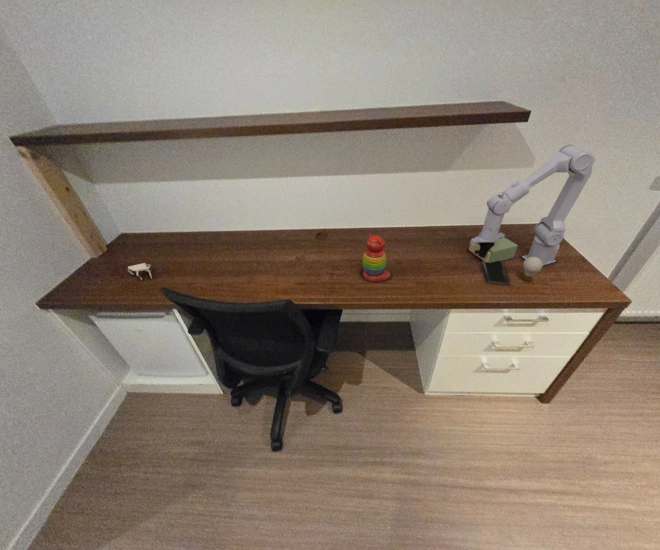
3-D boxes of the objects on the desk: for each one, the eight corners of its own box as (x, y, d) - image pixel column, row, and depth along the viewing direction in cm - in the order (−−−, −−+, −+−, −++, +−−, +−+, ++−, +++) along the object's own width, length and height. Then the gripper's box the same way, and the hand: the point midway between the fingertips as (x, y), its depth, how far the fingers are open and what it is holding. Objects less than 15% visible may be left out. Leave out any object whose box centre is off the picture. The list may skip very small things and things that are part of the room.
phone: (487, 281, 113) (481, 259, 125) (486, 283, 114) (480, 261, 126) (510, 283, 112) (502, 260, 123) (509, 285, 112) (501, 263, 124)
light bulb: (536, 286, 111) (546, 263, 105) (518, 283, 112) (527, 261, 107) (534, 276, 115) (543, 254, 109) (516, 274, 117) (525, 252, 111)
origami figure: (159, 268, 135) (155, 259, 132) (152, 280, 128) (147, 270, 125) (133, 271, 135) (127, 262, 132) (124, 282, 128) (118, 273, 125)
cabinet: (488, 264, 123) (492, 252, 120) (469, 250, 132) (472, 238, 129) (513, 257, 126) (517, 245, 122) (492, 244, 135) (496, 232, 131)
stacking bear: (392, 277, 120) (396, 238, 109) (371, 285, 116) (373, 246, 106) (377, 264, 128) (378, 226, 117) (356, 271, 124) (356, 234, 114)
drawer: (483, 263, 123) (486, 254, 120) (466, 250, 131) (468, 241, 128) (508, 256, 125) (511, 247, 123) (490, 244, 133) (492, 235, 131)
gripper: (498, 219, 120) (489, 248, 128) (468, 225, 117) (460, 255, 125) (512, 226, 115) (501, 256, 123) (481, 233, 111) (472, 263, 119)
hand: (482, 256), depth 123 cm, fingers closed, pressing on drawer
